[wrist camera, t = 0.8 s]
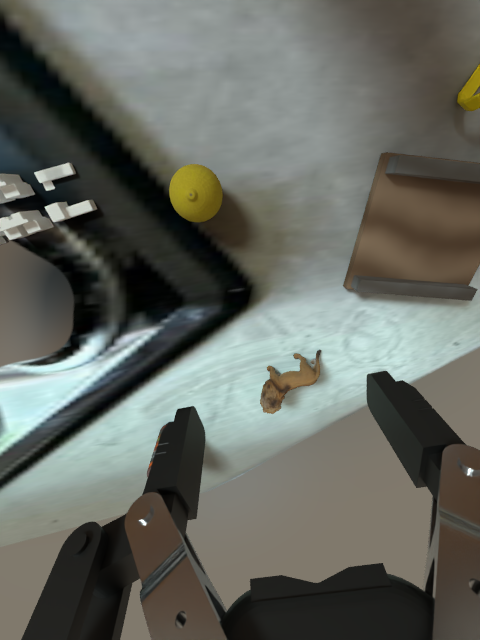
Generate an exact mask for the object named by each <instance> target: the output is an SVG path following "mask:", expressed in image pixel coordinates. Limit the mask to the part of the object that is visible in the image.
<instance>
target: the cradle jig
mask: <svg viewBox="0 0 480 640" xmlns="http://www.w3.org/2000/svg"><path fill="white" fill-rule="evenodd" d="M479 264H480V163H475V162H466V161H458V160H449V159H440V158H431V157H423V156H414V155H405V154H396V153H388V152H386V153H382V154H381V156H380V160H379V163H378V167H377V170H376V174H375V177H374V181H373V184H372V187H371V191H370V194H369V198H368V201H367V205H366V208H365V212H364V215H363V219H362V222H361V226H360V229H359V233H358V236H357V239H356V243H355V246H354V250H353V253H352V257H351V260H350V264H349V267H348V271H347V274H346V278H345V281H344V285H343V286H344V287H345V288H346V289H355V290H356V291H359V292H371V293H384V294H396V295H408V296H421V297H433V298H446V299H458V300H471V301H472V299H473V297H474V295H475V293H476V291H477V290H478V289H475V288H473V287H470V286H468V285H469V283H470V281H471V279H472V278H473V276H474V274H475V272H476V270H477V268H478V266H479Z"/></svg>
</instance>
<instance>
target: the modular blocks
mask: <svg viewBox="0 0 480 640" xmlns="http://www.w3.org/2000/svg"><path fill="white" fill-rule="evenodd" d="M34 173H35V175H36V177H37V179H38V181H39V183H43V185H44V187H45V189H46V191H49V190H52V189H55V187H54V185H53V183H52V181H51V180H55V179H59V178H62V177H66V176H70V175H73V174H76V172H75V170H74V167H73V165H72V163H67V164H63V165H59V166H56V167H52V168H49V169H45V170H41V171H38V172H34ZM31 195H35V193H34V191H33V189H32V188H31V186H30V184H27V183H26V182H22V180H21V178H20V176H19V175H13V174H0V203H6V202H9V201H13V200H15V198H24V197H28V196H31ZM45 209H46V211H47V212H48V214H49V216H50V217H51V219H52V221H53V222H58V221H63V220H66V219H69V218H72V217H75V216H78V215H81V214H84V213H88V212H91V211H94V210H97V207H96V205H95V203H94V201H93V200H87V201H84V202H81V203H78V204H75V205H72V206H68V204H67V202H59V203H54V204H51V205H48V206H45ZM53 227H54V226H53V224H52V223H51V221H50V219H49V218H46V217H42V215H41V213H40V212H39V210H34V211H24V212H18V213H15V214H12V215H11V216H10V217H3V218H0V245H2V244H5V243H8V242H9V241H8V239H9V240H13V239H17V238H22V237H26V236H29V235H32V234H35V233H36V232H40V231H44V230H47V229H50V228H53ZM5 235H6V236H7V237H8V239H6V238H3V237H2V236H5Z"/></svg>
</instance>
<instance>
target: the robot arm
mask: <svg viewBox="0 0 480 640" xmlns="http://www.w3.org/2000/svg"><path fill="white" fill-rule="evenodd" d="M367 403H368V406H369V409H370V411H371V413H372V415H373V416H374V418H375V420H376V421H377V423H378V425H379V426H380V428H381V430H382V431H383V433H384V435H385V436H386V438H387V440H388V441H389V443H390V445H391V446H392V448H393V450H394V451H395V453H396V455H397V456H398V458H399V460H400V461H401V463H402V465H403V466H404V468H405V470H406V471H407V473H408V475H409V476H410V478H411V480H412V481H413V483H414V485H415V486H416V488H420V487H426V486H427V487H428V489H429V490H430V492H431V493H432V495H433V497H432V506H431V518H430V530H429V541H428V552H427V560H426V567H425V574H424V584H423V590H422V589H420V588H419V587H417V586H415V585H414V584H412V583H410V582H408V581H406V580H404V579H402V578H399V577H397V576H394V575H391V574H387V573H386V571H385V568H384V565H383V563H379V564H371V565H362V566H354V567H348V568H346V569H345V570H343V571H341V572H339V573H337V574H335V575H333V576H331V577H329V578H327V579H325V580H324V581H322V582H320V583H312V582H308V581H304V580H300V579H295V578H291V577H286V576H282V575H279V576H272V577H263V578H255V579H250V586H251V590H249V591H247V592H246V593H244V594H243V595H242V596H240V597H239V598H238V599H237V600H236V601H235V602H234V603H233V604H232V606H231V607H230V608H229V609H228V611H227V610H226V608H225V606H224V604H223V602H222V600H221V598H220V596H219V595H218V593H217V591H216V589H215V588H214V586H213V584H212V582H211V581H210V579H209V577H208V575H207V573H206V571H205V569H204V567H203V565H202V563H201V562H200V559H199V557H198V555H197V553H196V551H195V549H194V547H193V545H192V543H191V542H190V539H189V537H188V535H187V533H186V527H187V520H192V519H196V517H197V509H198V501H199V492H200V483H201V474H202V465H203V457H204V448H205V430H204V427H203V424H202V422H201V420H200V418H199V415H198V413H197V411H196V409H195V407H194V406H191V407H186V408H181V409H178V410H177V412H176V415H175V419H174V422H169V423H168V424H167V425H166V426H165V428H164V429H163V431H162V432H161V435H160V438H159V442H158V446H157V448H156V452H155V455H154V459H153V462H152V465H151V469H150V472H149V476H148V479H147V482H146V486H145V489H144V492H143V494H142V496H140V497H139V498H138V499H137V500H136V501H135V502H134V503H133V504H132V505H131V507H130V508H129V510H128V512H127V514H125V515H123V516H122V517H120V518H118V519H116V520H114V521H112V522H110V523H108V524H106V525H104V526H102V527H101V526H100V525H99V524H97V523H96V522H88V523H85V524H83V525H81V526H80V527H78V528H77V529H76V530H75V531H74V532H73V533H72V534H71V535H70V536H69V537H68V538H67V540H66V541H65V543H64V544H63V546H62V548H61V550H60V552H59V554H58V557H57V559H56V561H55V564H54V566H53V568H52V571H51V573H50V575H49V578H48V580H47V582H46V584H45V587H44V589H43V591H42V594H41V596H40V598H39V600H38V603H37V605H36V607H35V610H34V612H33V614H32V616H31V619H30V621H29V624H28V626H27V628H26V630H25V633H24V635H23V637H22V639H21V640H120V637H121V633H122V628H123V624H124V619H125V614H126V610H127V605H128V600H129V596H130V591H131V587H132V583H133V582H134V581H136V580H138V579H141V583H142V590H141V591H140V600H141V605H142V608H143V612H144V615H145V619H146V623H147V626H148V629H149V633H150V637H151V640H480V450H478V449H476V448H474V447H471V446H468V445H466V444H465V443H464V442H463V441H462V440H461V439H460V438H459V437H458V435H457V434H456V433H455V432H454V431H453V430H452V429H451V428H450V427H449V425H448V424H447V423H446V422H445V421H444V420H443V419H442V418H441V416H440V415H439V414H438V413H437V412H436V411H435V410H434V409H432V406H431V405H430V404H429V403H428V402H427V401H426V400H425V399H424V397H423V396H422V395H421V394H420V393H419V392H418V391H417V389H416V388H414V387H413V386H411V385H409V384H408V383H406V382H404V381H403V380H402V381H397V382H396V381H395V380H394V379H393V378H392V376H391V375H390V374H389V373H388V372H387V371H382V372H376V373H371V374H368V375H367Z"/></svg>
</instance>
